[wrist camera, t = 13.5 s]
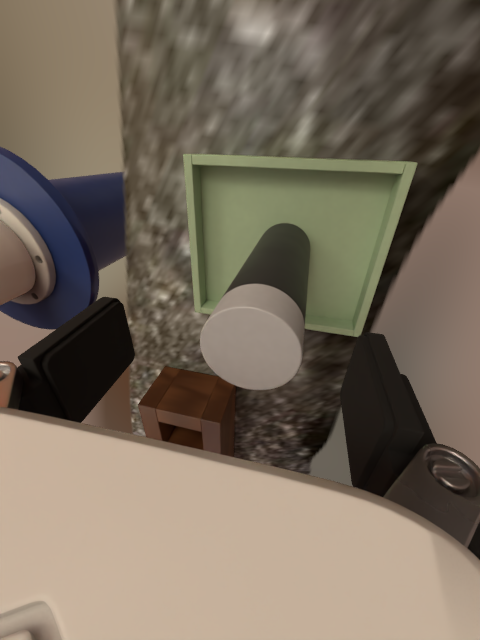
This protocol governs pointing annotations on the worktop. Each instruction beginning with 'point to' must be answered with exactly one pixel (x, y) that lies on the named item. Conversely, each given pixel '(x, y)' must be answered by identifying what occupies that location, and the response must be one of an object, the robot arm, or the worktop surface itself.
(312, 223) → the tray
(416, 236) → the worktop surface
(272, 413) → the worktop surface
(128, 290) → the worktop surface
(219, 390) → the holder
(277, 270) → the tool handle
